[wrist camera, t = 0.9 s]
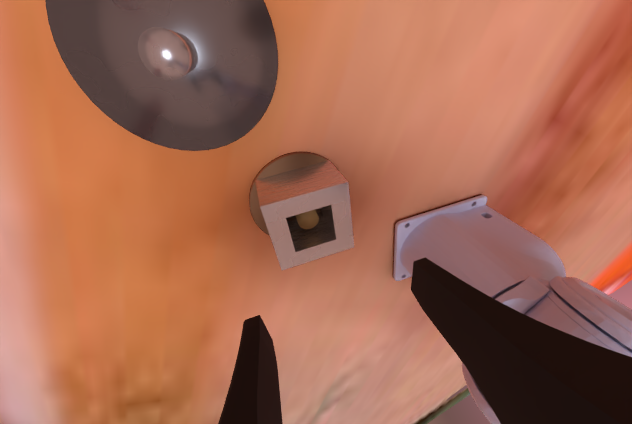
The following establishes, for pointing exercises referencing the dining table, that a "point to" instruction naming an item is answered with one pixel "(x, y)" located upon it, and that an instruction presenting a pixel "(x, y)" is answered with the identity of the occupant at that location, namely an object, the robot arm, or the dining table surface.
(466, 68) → the dining table surface
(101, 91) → the hub
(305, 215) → the stand
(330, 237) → the square tube sleeve
